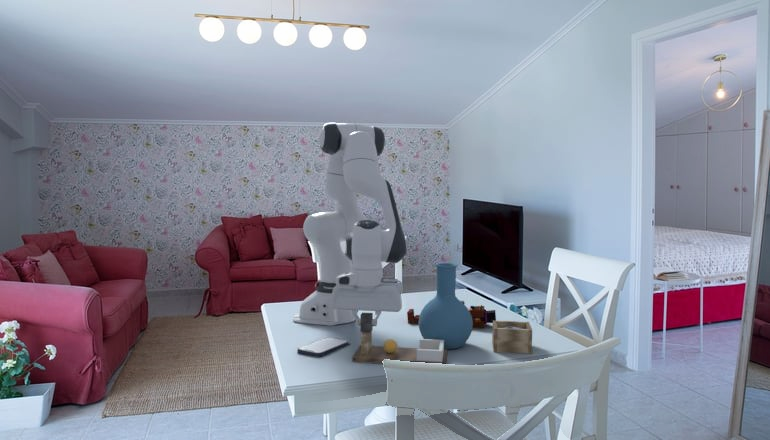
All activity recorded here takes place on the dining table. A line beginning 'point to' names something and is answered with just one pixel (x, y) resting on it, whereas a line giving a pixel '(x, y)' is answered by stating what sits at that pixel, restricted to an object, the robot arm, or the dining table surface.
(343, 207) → the robot arm
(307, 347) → the phone case
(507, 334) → the box
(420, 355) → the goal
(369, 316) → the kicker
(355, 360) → the board
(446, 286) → the vase
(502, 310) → the dining table surface
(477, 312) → the toy
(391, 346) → the ball
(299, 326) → the dining table surface
